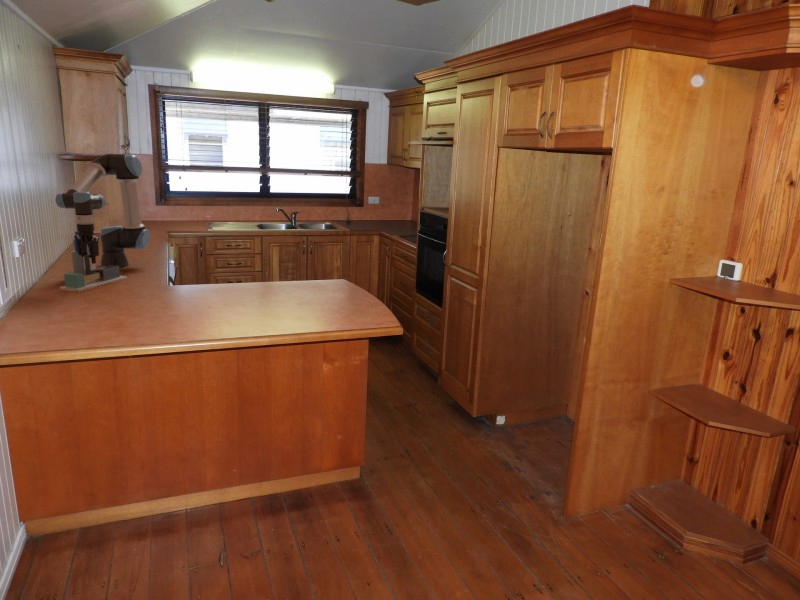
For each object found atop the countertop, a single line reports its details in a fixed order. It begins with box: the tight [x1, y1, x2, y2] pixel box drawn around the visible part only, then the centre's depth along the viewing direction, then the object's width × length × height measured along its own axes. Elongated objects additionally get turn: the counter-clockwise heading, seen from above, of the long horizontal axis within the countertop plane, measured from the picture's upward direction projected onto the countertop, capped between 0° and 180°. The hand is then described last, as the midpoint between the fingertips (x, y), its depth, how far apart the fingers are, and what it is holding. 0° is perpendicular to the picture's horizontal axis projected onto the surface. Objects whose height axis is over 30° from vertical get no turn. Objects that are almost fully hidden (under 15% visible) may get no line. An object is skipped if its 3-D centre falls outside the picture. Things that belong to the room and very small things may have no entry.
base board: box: [59, 275, 128, 293], centre depth 290 cm, size 32×12×1 cm, turn 164°
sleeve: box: [95, 265, 121, 281], centre depth 297 cm, size 11×6×6 cm, turn 164°
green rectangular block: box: [63, 272, 85, 288], centre depth 278 cm, size 4×8×6 cm, turn 74°
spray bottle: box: [71, 230, 90, 275], centre depth 300 cm, size 9×9×25 cm
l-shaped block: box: [84, 254, 102, 282], centre depth 289 cm, size 18×3×13 cm, turn 164°
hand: (90, 269), depth 286 cm, fingers closed on l-shaped block, 3 cm apart
